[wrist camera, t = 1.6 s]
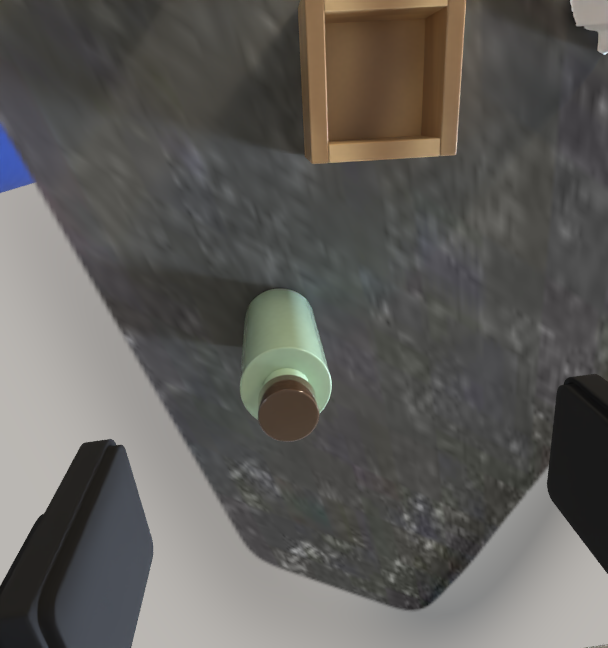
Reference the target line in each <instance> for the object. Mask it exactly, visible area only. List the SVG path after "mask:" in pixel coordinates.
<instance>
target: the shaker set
mask: <svg viewBox="0 0 608 648" xmlns="http://www.w3.org/2000/svg"><path fill="white" fill-rule="evenodd" d="M570 4H571V6H572V8H571V11H572V12H574V14H573V17H574V19H575V22H576V26H584V27H585V28H586V29H587V30H592V31H597V32H598V34H599V36H598V49H597V50H598V52H600V53H602V54H604V55H605V54H606V53H608V0H570Z"/></svg>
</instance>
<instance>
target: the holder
mask: <svg viewBox="0 0 608 648" xmlns="http://www.w3.org/2000/svg"><path fill="white" fill-rule="evenodd" d="M465 9H466V0H301V1H300V4H299V7H298V19H299V40H300V61H301V82H302V104H303V125H304V146H305V158H307V159H308V160H309V161H310V162H311V163H312V164H318V163H328V162H329V163H335V162H351V161H368V160H384V159H401V158H418V157H434V156H450V155H456V150H457V134H458V119H459V103H460V87H461V72H462V56H463V40H464V25H465Z"/></svg>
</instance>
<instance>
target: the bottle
mask: <svg viewBox="0 0 608 648" xmlns="http://www.w3.org/2000/svg"><path fill="white" fill-rule="evenodd" d="M331 390H332V382H331V377H330V373H329V369H328V365H327V362H326V358H325V354H324V351H323V347H322V343H321V340H320V336H319V332H318V328H317V325H316V321H315V317H314V314H313V310H312V308H311V306H310V304H309V303H308V301H307V300H306V299H305V298H304V297H303V296H301V295H300V294H299V293H297V292H295V291H292V290H289V289H282V288H279V289H271V290H268V291H265V292H263V293H261V294H260V295H258V296H257V297H256V298H255V299H254V300H253V301H252V302H251V303H250V305H249V306H248V308H247V311H246V314H245V323H244V336H243V350H242V364H241V377H240V395H241V399H242V402H243V404H244V406H245V407H246V409H247V410H248V411H249V413H250V414H251V415H252V416H254V417H255V418H256V419H258V422H259V425H260V427H261V428H262V430H263V431H264V432H265V433H266V434H267V435H268V436H270V437H271V438H273V439H275V440H278V441H284V442H291V441H296V440H300V439H302V438H304V437H306V436H307V435H309V434H310V433H311V432H312V431H313V430H314V428H315V427H316V425H317V423H318V420H319V413H320V412H321V411H322V410H323V409H324V407H325V406H326V404H327V402H328V400H329V398H330V395H331Z"/></svg>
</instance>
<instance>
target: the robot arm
mask: <svg viewBox="0 0 608 648" xmlns="http://www.w3.org/2000/svg"><path fill="white" fill-rule="evenodd" d="M547 488H548V492H549V495H550V498H551V499H552V501H553V502H554V504H555V505H556V506H557V508H558V509H559V510H560V511H561V513H562V514H563V516H564V517H565V518H566V520H567V521H568V522H569V523H570V525H571V526H572V527H573V529H574V530H575V531H576V533H577V534H578V535H579V537H580V538H581V539H582V541H583V542H584V543H585V545H586V546H587V547H588V548H589V550H590V551H591V553H592V554H593V555H594V557H595V558H596V559H597V560H598V562H599V563H600V564H601V566H602V567H603V568H604V570H605V571H606V572H607V573H608V382H607V381H606V380H605V379H603V378H602V377H601V376H599V375H597V374H591V375H584V376H577V377H569V378H567V379H566V380H565V382H564V385H561V386H559V388H558V390H557V397H556V406H555V415H554V425H553V434H552V443H551V452H550V461H549V471H548V480H547ZM152 557H153V542H152V537H151V534H150V531H149V527H148V524H147V521H146V517H145V514H144V510H143V507H142V504H141V500H140V497H139V494H138V490H137V487H136V483H135V480H134V477H133V473H132V470H131V467H130V463H129V460H128V457H127V453H126V450H125V448H124V446H123V445H116V443H115V442H114V440H112V439H108V440H101V441H94V442H87V443H83V444H82V445H81V447H80V449H79V450H78V452H77V454H76V456H75V458H74V460H73V461H72V463H71V465H70V467H69V469H68V471H67V473H66V474H65V476H64V478H63V480H62V482H61V484H60V486H59V488H58V489H57V491H56V493H55V495H54V497H53V499H52V500H51V502H50V504H49V506H48V508H47V510H46V512H45V513H44V514H42V515H41V516H40V517H39V518H38V519H37V521H36V522H35V524H34V526H33V527H32V529H31V531H30V533H29V535H28V536H27V539H26V540H25V542H24V544H23V546H22V547H21V549H20V551H19V553H18V555H17V556H16V558H15V560H14V562H13V564H12V566H11V568H10V569H9V571H8V573H7V575H6V577H5V578H4V580H3V582H2V584H1V586H0V648H131V646H132V642H133V637H134V633H135V629H136V625H137V621H138V616H139V612H140V608H141V604H142V600H143V596H144V592H145V587H146V583H147V579H148V575H149V571H150V566H151V562H152ZM586 648H608V644H607V645H600V646H593V647H586Z"/></svg>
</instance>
